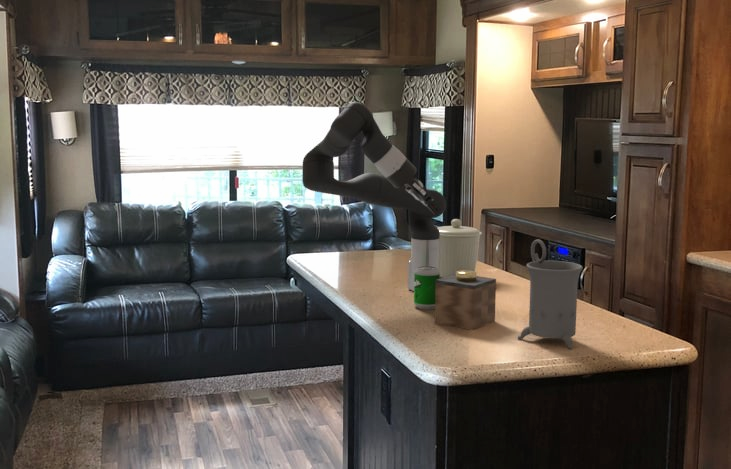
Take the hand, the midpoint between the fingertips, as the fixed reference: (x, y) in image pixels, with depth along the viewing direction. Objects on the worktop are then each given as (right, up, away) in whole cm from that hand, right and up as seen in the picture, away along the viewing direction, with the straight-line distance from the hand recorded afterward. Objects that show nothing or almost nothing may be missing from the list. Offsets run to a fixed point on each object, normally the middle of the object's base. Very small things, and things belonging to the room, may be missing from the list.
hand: (438, 212), depth 210 cm
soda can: (-1, -28, +24) cm, 37 cm away
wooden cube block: (+8, -30, +7) cm, 32 cm away
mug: (+27, -33, -10) cm, 44 cm away
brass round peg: (+8, -28, +7) cm, 30 cm away
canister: (+12, -22, +69) cm, 73 cm away
